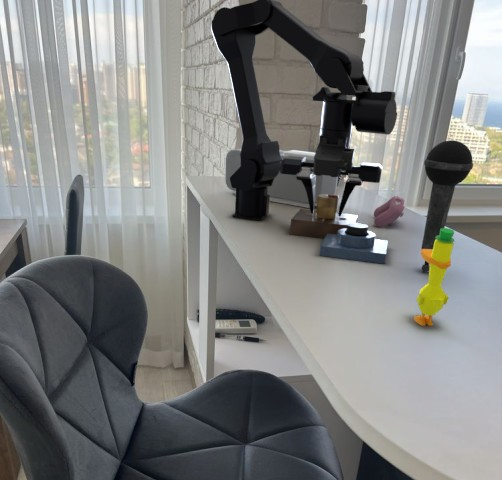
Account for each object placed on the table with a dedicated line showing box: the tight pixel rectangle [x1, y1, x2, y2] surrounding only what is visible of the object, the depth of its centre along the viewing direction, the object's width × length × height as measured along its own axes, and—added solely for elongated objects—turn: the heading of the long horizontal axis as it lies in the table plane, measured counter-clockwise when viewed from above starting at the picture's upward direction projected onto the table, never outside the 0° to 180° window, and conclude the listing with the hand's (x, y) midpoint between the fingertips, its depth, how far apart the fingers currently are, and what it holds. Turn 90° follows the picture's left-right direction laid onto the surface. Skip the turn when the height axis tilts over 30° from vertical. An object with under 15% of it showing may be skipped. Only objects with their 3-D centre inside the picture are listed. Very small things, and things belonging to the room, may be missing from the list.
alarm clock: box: [224, 148, 339, 209], centre depth 127 cm, size 27×9×12 cm, turn 58°
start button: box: [346, 222, 369, 236], centre depth 88 cm, size 4×4×2 cm
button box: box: [319, 228, 389, 264], centre depth 89 cm, size 11×9×4 cm
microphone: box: [420, 139, 474, 273], centre depth 77 cm, size 7×7×20 cm
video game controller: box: [373, 195, 405, 228], centre depth 110 cm, size 10×5×7 cm, turn 168°
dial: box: [315, 194, 339, 219], centre depth 99 cm, size 4×4×4 cm
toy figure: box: [413, 227, 455, 327], centre depth 61 cm, size 7×4×12 cm, turn 9°
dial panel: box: [289, 208, 359, 239], centre depth 101 cm, size 12×10×3 cm
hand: (325, 214), depth 100 cm, fingers open, 5 cm apart
